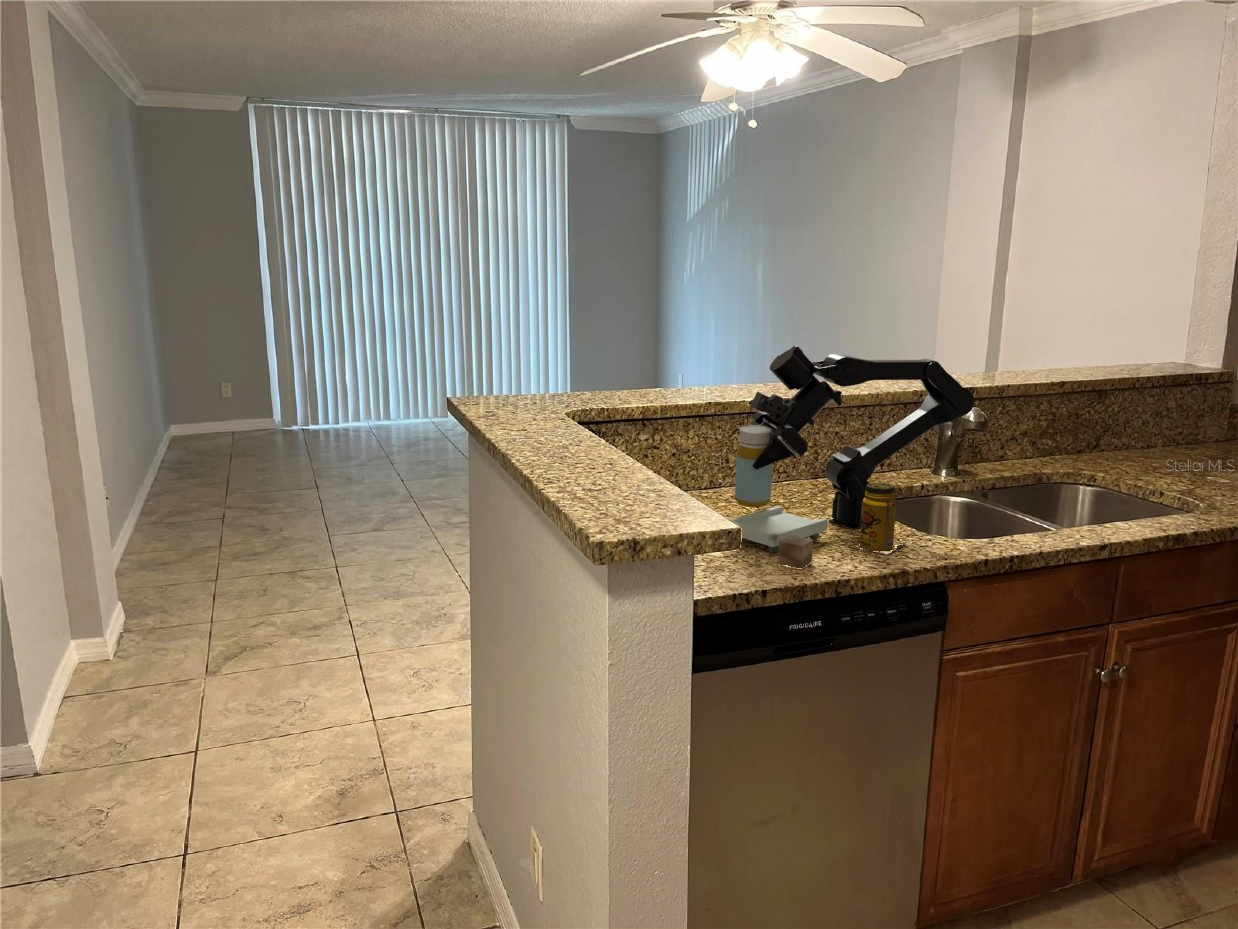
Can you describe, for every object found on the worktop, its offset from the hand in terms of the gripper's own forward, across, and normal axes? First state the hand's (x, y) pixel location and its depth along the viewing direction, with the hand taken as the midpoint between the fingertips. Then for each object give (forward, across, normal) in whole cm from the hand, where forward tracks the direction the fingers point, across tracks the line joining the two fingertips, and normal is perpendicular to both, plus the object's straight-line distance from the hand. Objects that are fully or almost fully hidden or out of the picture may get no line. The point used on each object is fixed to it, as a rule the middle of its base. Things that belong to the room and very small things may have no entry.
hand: (748, 463), depth 181 cm
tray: (+7, +8, +12) cm, 16 cm away
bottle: (+5, -1, +7) cm, 8 cm away
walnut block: (+8, +22, +11) cm, 25 cm away
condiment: (-5, +14, +25) cm, 29 cm away
